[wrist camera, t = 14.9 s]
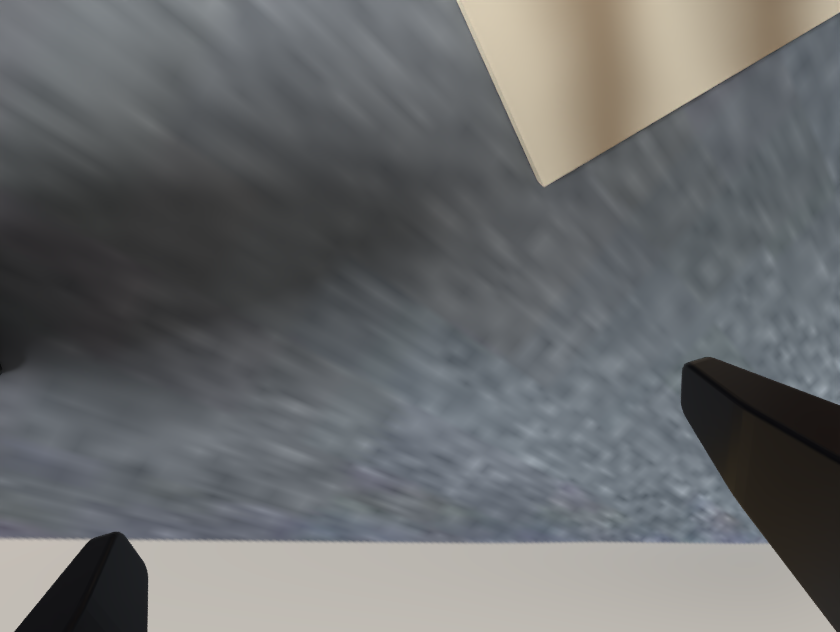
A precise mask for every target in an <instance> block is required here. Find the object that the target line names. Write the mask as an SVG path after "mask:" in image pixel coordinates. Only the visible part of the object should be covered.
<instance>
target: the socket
mask: <svg viewBox="0 0 840 632" xmlns="http://www.w3.org/2000/svg"><path fill="white" fill-rule="evenodd" d="M457 3H458V5H459V7H460V9H461V12H462V14H463V16H464V18H465V21H466V23H467V25H468V27H469V29H470V32H471V34H472V36H473V38H474V41H475V43H476V45H477V47H478V49H479V52H480V54H481V56H482V58H483V61H484V63H485V65H486V67H487V70H488V72H489V74H490V76H491V78H492V81H493V83H494V85H495V87H496V90H497V92H498V94H499V96H500V98H501V101H502V103H503V105H504V107H505V110H506V112H507V114H508V116H509V118H510V121H511V123H512V125H513V127H514V130H515V132H516V134H517V136H518V139H519V141H520V143H521V145H522V147H523V150H524V152H525V154H526V156H527V159H528V161H529V163H530V165H531V167H532V170H533V172H534V174H535V176H536V179H537V181H538V182H539V183H540V184H541V185H542V186H543V187H545V186H547V185H549V184H550V183H552V182H554V181H555V180H557V179H559V178H560V177H562V176H564V175H566V174H567V173H569V172H571V171H572V170H574V169H576V168H577V167H579V166H581V165H582V164H584V163H586V162H587V161H589V160H591V159H593V158H594V157H596V156H598V155H599V154H601V153H603V152H604V151H606V150H608V149H609V148H611V147H613V146H615V145H616V144H618V143H620V142H621V141H623V140H625V139H626V138H628V137H630V136H631V135H633V134H635V133H636V132H638V131H640V130H642V129H643V128H645V127H647V126H648V125H650V124H652V123H653V122H655V121H657V120H658V119H660V118H662V117H664V116H665V115H667V114H669V113H670V112H672V111H674V110H675V109H677V108H679V107H680V106H682V105H684V104H686V103H687V102H689V101H691V100H692V99H694V98H696V97H697V96H699V95H701V94H702V93H704V92H706V91H707V90H709V89H711V88H713V87H714V86H716V85H718V84H719V83H721V82H723V81H724V80H726V79H728V78H729V77H731V76H733V75H735V74H736V73H738V72H740V71H741V70H743V69H745V68H746V67H748V66H750V65H751V64H753V63H755V62H756V61H758V60H760V59H762V58H763V57H765V56H767V55H768V54H770V53H772V52H773V51H775V50H777V49H778V48H780V47H782V46H784V45H785V44H787V43H789V42H790V41H792V40H794V39H795V38H797V37H799V36H800V35H802V34H804V33H806V32H807V31H809V30H811V29H812V28H814V27H816V26H817V25H819V24H821V23H822V22H824V21H826V20H827V19H829V18H831V17H833V16H834V15H836V14H838V13H839V12H840V0H457Z"/></svg>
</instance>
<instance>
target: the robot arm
mask: <svg viewBox="0 0 840 632" xmlns="http://www.w3.org/2000/svg"><path fill="white" fill-rule="evenodd" d="M1 373H2V367H1V365H0V375H1ZM681 406H682V410H683V413H684V415H685V417H686V419H687V420H688V422H689V424H690V425H691V427H692V429H693V430H694V432H695V433H696V435H697V437H698V438H699V440H700V442H701V443H702V445H703V447H704V448H705V450H706V452H707V453H708V455H709V457H710V458H711V460H712V462H713V463H714V465H715V467H716V468H717V470H718V472H719V473H720V475H721V477H722V478H723V480H724V482H725V483H726V485H727V486H728V488H729V489H730V491H731V493H732V494H733V496H734V497H735V498H736V500H737V501H738V503H739V504H740V505H741V507H742V508H743V509H744V511H745V512H746V513H747V515H748V516H749V517H750V519H751V520H752V521H753V523H754V524H755V525H756V527H757V528H758V529H759V530H760V532H761V533H762V534H763V536H764V537H765V538H766V540H767V541H768V542H769V544H770V545H771V546H772V548H773V549H774V550H775V551H776V553H777V554H778V555H779V557H780V558H781V559H782V561H783V562H784V563H785V565H786V566H787V567H788V569H789V570H790V571H791V572H792V574H793V575H794V576H795V578H796V579H797V580H798V582H799V583H800V584H801V586H802V587H803V588H804V589H805V591H806V592H807V593H808V595H809V596H810V597H811V599H812V600H813V601H814V603H815V604H816V605H817V607H818V608H819V609H820V610H821V612H822V613H823V614H824V616H825V617H826V618H827V620H828V621H829V622H830V624H831V625H832V626H833V628H834V629H835V630H836V632H840V405H838V404H835V403H832V402H830V401H827V400H824V399H822V398H819V397H816V396H814V395H811V394H808V393H806V392H803V391H800V390H798V389H795V388H792V387H790V386H787V385H784V384H782V383H779V382H776V381H774V380H771V379H768V378H766V377H763V376H761V375H758V374H755V373H753V372H750V371H747V370H745V369H742V368H739V367H737V366H734V365H731V364H729V363H726V362H723V361H721V360H718V359H715V358H712V357H704V358H701V359H697V360H694V361H691V362H688V363H686V364H685V365H684V366H683V368H682V383H681ZM147 617H148V573H147V569H146V566H145V564H144V562H143V560H142V559H141V558H140V556H139V555H138V553H137V552H136V551H135V549H134V548H133V546H132V545H131V544H130V542H129V541H128V539H127V538H126V537H125V536H124V534H122V533H120V532H112V533H109V534H105V535H102V536H98V537H95V538H93V539H91V540H90V541H89V542H88V543H87V544H86V545H85V546H84V547H83V548H82V550H81V551H80V552H79V554H78V555H77V556H76V557H75V558H74V559H73V561H72V562H71V563H70V564H69V566H68V567H67V568H66V569H65V570H64V572H63V573H62V574H61V575H60V576H59V578H58V579H57V580H56V581H55V583H54V584H53V585H52V586H51V588H50V589H49V590H48V591H47V592H46V594H45V595H44V596H43V597H42V598H41V600H40V601H39V603H37V605H36V606H35V607H34V608H33V609H32V611H31V612H30V613H29V614H28V616H27V617H26V618H25V619H24V620H23V622H22V623H21V624H20V625H19V627H18V628H17V629H16V630H15V632H147V622H148V621H147V620H148V618H147Z"/></svg>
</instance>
